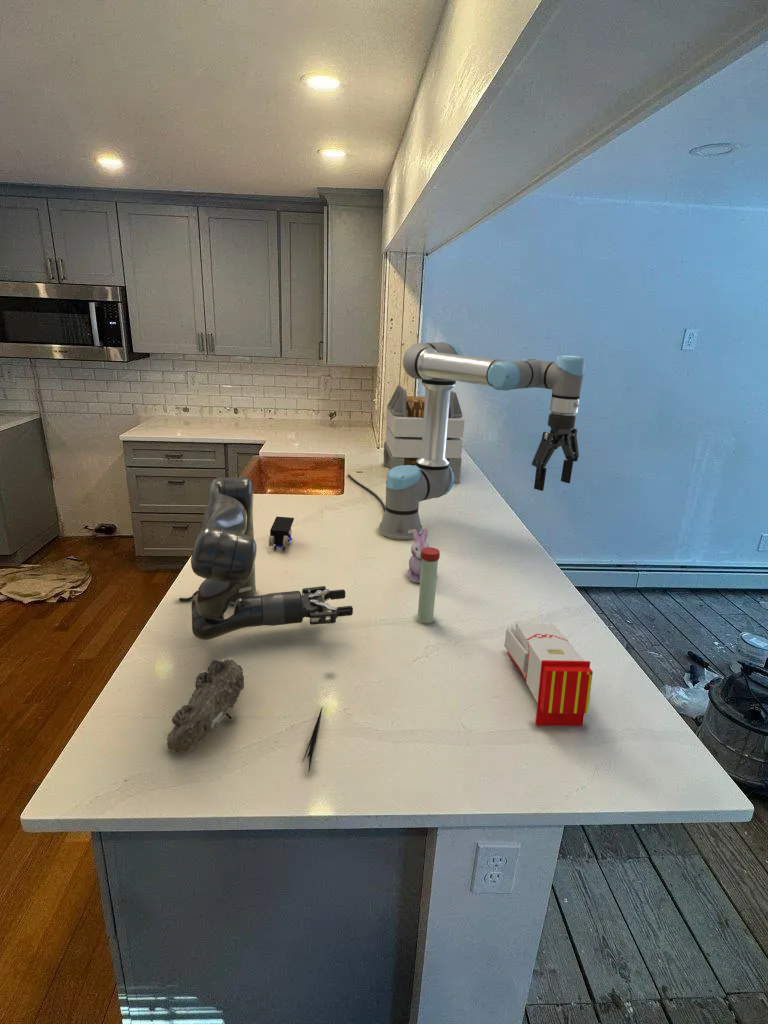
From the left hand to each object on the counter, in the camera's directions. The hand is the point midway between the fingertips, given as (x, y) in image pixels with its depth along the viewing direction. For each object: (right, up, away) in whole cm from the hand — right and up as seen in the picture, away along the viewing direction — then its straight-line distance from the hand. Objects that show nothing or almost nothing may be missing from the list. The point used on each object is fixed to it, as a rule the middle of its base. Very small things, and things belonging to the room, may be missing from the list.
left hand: (348, 601), depth 137 cm
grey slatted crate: (+26, +41, +138) cm, 146 cm away
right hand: (+58, +29, +28) cm, 71 cm away
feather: (-4, -18, -29) cm, 34 cm away
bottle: (+19, -6, +8) cm, 22 cm away
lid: (+20, +12, +2) cm, 23 cm away
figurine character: (-25, +11, +49) cm, 56 cm away
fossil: (-24, -17, -29) cm, 42 cm away
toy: (+42, -15, -15) cm, 47 cm away
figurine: (+20, +2, +31) cm, 37 cm away
